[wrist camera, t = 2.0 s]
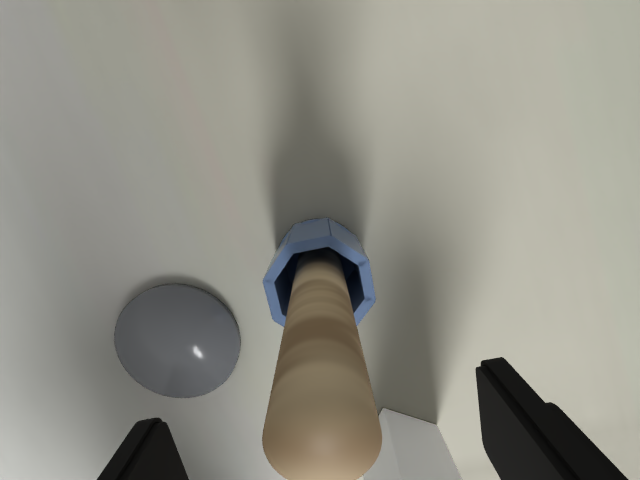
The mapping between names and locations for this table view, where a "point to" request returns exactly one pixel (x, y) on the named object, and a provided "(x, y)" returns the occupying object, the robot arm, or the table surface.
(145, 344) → the coaster
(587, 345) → the table surface
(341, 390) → the wooden pestle
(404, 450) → the milk
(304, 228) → the cup
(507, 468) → the robot arm
